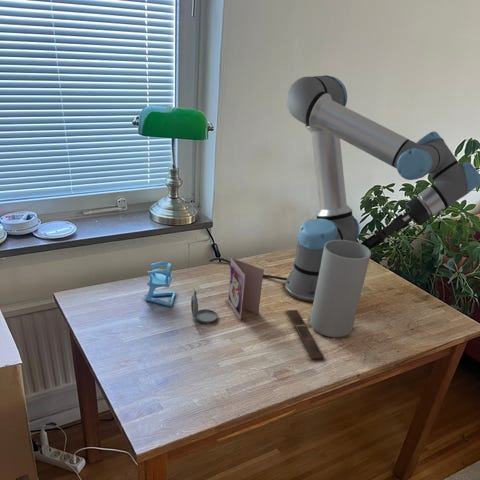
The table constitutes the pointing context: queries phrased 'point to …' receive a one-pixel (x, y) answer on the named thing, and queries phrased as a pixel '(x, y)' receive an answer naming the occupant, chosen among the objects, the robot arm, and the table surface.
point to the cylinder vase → (339, 287)
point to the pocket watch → (201, 311)
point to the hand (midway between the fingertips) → (358, 251)
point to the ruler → (305, 335)
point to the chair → (160, 283)
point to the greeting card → (244, 287)
